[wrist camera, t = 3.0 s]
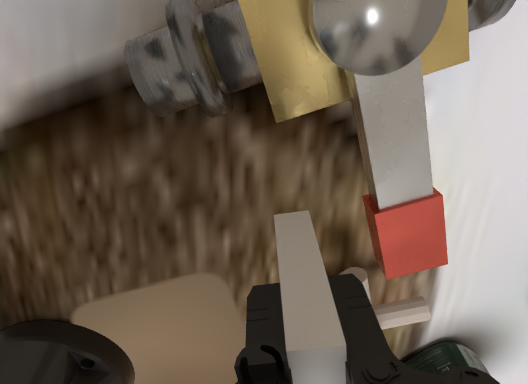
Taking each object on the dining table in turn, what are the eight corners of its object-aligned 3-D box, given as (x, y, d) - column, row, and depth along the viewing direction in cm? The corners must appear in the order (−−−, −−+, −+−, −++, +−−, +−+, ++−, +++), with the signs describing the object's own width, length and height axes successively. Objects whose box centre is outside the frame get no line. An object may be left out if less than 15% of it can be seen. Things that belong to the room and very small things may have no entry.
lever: (293, -37, 12) (300, -47, 10) (416, -84, 11) (444, -103, 10) (362, 260, 18) (373, 283, 16) (443, 238, 17) (462, 260, 16)
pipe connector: (304, 324, 33) (323, 433, 24) (282, 247, 29) (296, 347, 20) (402, 304, 32) (459, 409, 23) (396, 222, 28) (463, 314, 19)
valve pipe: (183, 121, 23) (145, 172, 15) (136, 16, 20) (58, 10, 12) (498, 15, 21) (655, 7, 13) (500, -124, 18) (708, -250, 10)
